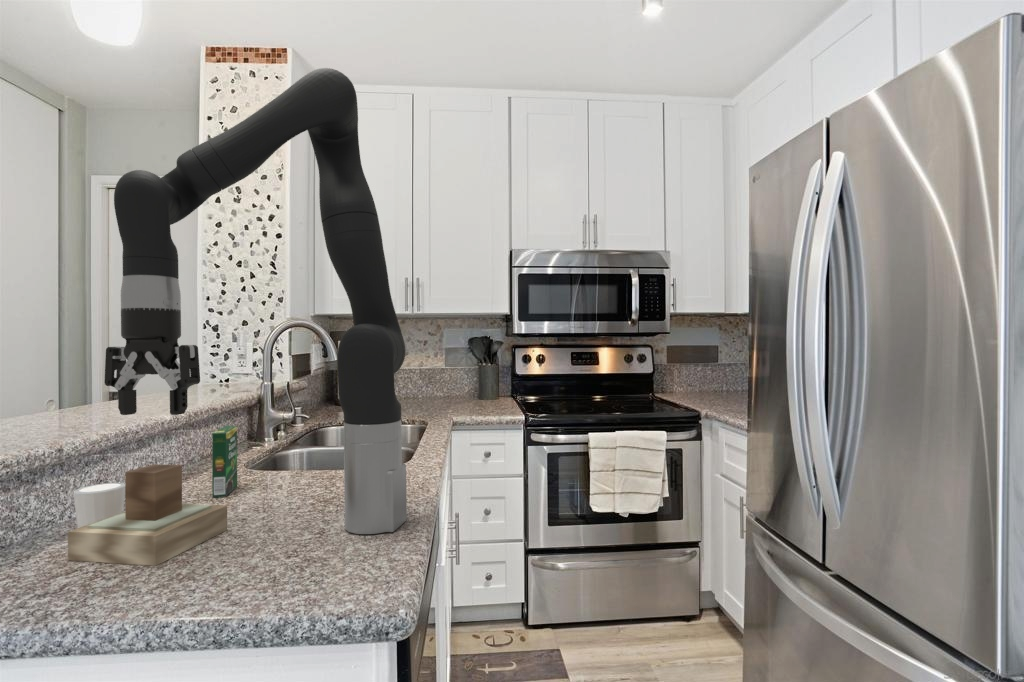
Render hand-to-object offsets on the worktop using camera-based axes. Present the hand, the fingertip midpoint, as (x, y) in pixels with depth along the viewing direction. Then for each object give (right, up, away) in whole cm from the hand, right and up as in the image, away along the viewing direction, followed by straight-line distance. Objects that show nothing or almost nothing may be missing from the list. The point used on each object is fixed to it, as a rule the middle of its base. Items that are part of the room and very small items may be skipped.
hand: (152, 414), depth 79 cm
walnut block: (0, -15, 0) cm, 15 cm away
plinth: (0, -20, 0) cm, 20 cm away
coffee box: (-4, -20, +28) cm, 35 cm away
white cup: (-13, -20, +6) cm, 25 cm away
